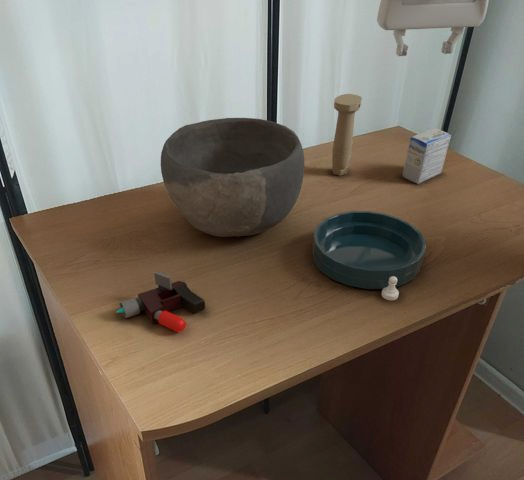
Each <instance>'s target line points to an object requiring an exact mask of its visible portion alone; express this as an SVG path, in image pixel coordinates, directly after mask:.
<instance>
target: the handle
mask: <svg viewBox="0 0 524 480" xmlns="http://www.w3.org/2000/svg"><path fill="white" fill-rule="evenodd" d="M362 98H363V97H362V96H361V95H358V94H353V93H344V94H340V95H337V96H336V97H335V98H334V99H333V101H334V102H333V108H334V110H335V111H337V119H336V126H335V132H334V137H333V144H332V157H331V162H332V163H331V164H332V166H331V168H332V169H331V170H332V174H333V175H335V176H339V177H341V176H345V175H347V173H348V171H349V168H348V167H349V166H350V162H351V156H352V152H353V151H352V150H353V142H354V141H353V140H354V128H355V127H354V126H355V115H356V112H357V111H359V110H360V108H361V106H362V100H363V99H362Z"/></svg>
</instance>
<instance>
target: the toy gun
mask: <svg viewBox="0 0 524 480" xmlns="http://www.w3.org/2000/svg"><path fill="white" fill-rule="evenodd" d="M153 274H154V275H153V276H154V281H155V285H157V287H155V288H153V289H149V290H147V291H143V292H140V293H138V294H137V298H135V297H132V298H129V299H126V300H123V301H120V302H119V307H120V308H119V309H118V310H117V311H115V313H121V314H122V315H123V316H124V319H129V318H131V317H134V316H136V315H137V316H138V315H140V314H141V313H142V312H143V313H145V315H146V316H147V318H148V319H149V321H150V323H152V324H156V323H157V322H158V324H159V325H161V326H164V327H166V328H167V329H170V330H172V331H174V332H177V333H181V332H183V331H184V330H185V329H186V326H187V323H186V321H185V319H184V318H182V317H180V316H179V315H176V314H174V313H172V312H171V311H173V310H176V309H179V308H185V309H186V310H188V311H189V312H191V313H192V314H197V313H199V312H203V311H205V310H206V303H205V302H206V301H205V299H204V298H202V297H201V296H199V295H198V294H196V293H194V292H193V291H192V290H191V289H190V288H189V287H188V284H187V283H186V281H180V280H177V281H174V282H172V279H171V276H169V275H167V274H165V273H162V272H159V271H155V272H153Z"/></svg>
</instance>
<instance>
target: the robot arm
mask: <svg viewBox="0 0 524 480" xmlns="http://www.w3.org/2000/svg"><path fill="white" fill-rule="evenodd" d="M489 1H490V0H380V1H379V2H380V3H379V6H378V11H377V17H376V22H377V24H378V26H379V27H380V28H381V29H382V30H384V31H393V37H394V40H395V43H396V49H395V54H396V56H397V57H406V56H408V55H407V54H408V50H409V45H407V44H406V43H404V40H403V37H405V36H406V31H407V30H427V29H429V30H430V29H449V28H450V32H451V34H450V36H449V37H448V39H446V41H442V45H441V46H442V47H441V49H440V52H441V53H442V54H443V55H448V54H449V55H451V54H452V53H453V50H454V46H455V44H456V43H457V41H458V40H459V39H460V37H461V36H462V35H463V32H464V28H473V27H479V26H480V25H482V24H483V22H484V20H485V18H486V15H487V10H488V7H489Z"/></svg>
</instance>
